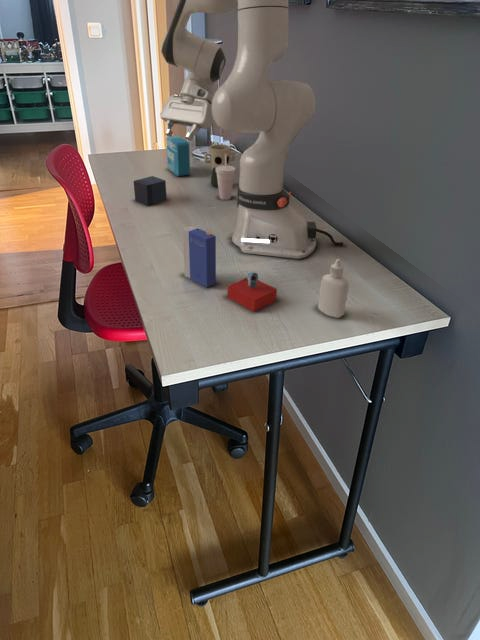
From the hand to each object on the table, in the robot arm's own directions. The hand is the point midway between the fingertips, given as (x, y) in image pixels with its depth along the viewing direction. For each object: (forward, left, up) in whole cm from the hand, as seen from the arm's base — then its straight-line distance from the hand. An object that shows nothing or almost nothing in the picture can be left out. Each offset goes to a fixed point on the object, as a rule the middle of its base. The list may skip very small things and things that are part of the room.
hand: (178, 137), depth 157 cm
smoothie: (-16, -2, -18) cm, 24 cm away
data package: (+11, -20, -18) cm, 29 cm away
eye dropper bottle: (-65, +53, -18) cm, 86 cm away
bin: (+4, +11, -18) cm, 21 cm away
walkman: (-34, +52, -18) cm, 65 cm away
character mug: (-9, -13, -18) cm, 23 cm away
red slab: (-48, +55, -18) cm, 75 cm away
